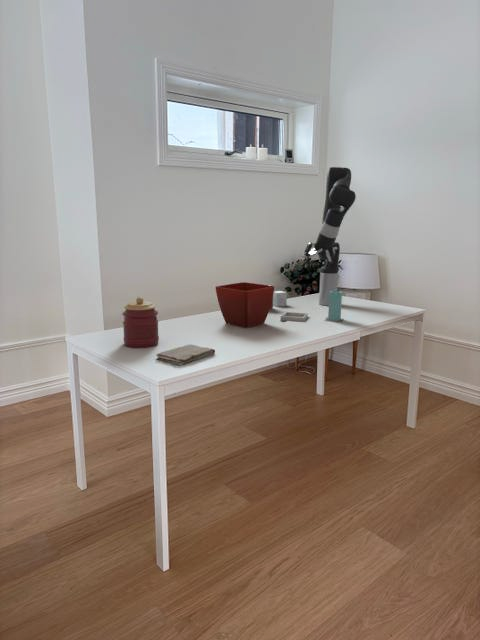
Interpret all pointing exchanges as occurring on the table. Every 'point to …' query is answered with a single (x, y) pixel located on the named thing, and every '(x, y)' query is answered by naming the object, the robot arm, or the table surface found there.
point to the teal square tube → (335, 305)
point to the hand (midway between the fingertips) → (316, 266)
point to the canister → (140, 324)
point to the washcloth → (185, 354)
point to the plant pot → (244, 303)
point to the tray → (293, 316)
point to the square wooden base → (334, 321)
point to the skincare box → (279, 298)
